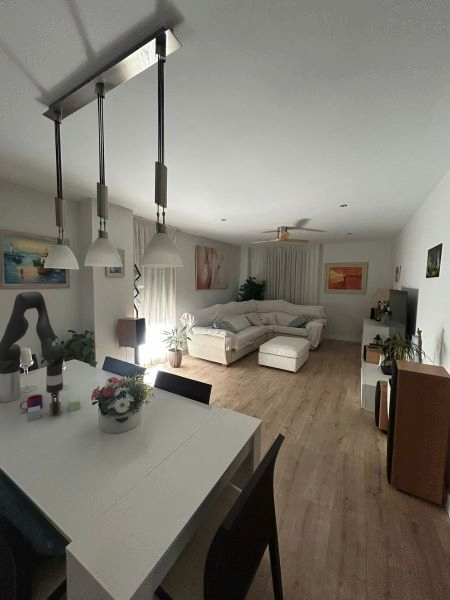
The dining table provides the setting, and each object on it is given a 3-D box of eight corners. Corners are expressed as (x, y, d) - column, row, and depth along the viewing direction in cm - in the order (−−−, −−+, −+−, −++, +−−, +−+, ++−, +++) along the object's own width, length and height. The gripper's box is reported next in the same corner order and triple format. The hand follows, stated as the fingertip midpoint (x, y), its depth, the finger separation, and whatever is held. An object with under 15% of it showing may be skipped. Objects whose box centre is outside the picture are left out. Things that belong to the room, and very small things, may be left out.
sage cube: (68, 407, 138) (68, 399, 137) (78, 405, 141) (78, 397, 140) (69, 411, 134) (69, 403, 133) (79, 409, 137) (79, 400, 136)
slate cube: (28, 417, 127) (28, 408, 127) (40, 414, 130) (40, 405, 130) (27, 421, 123) (27, 412, 123) (40, 418, 126) (40, 409, 126)
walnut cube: (49, 412, 132) (49, 403, 132) (60, 409, 135) (60, 401, 135) (49, 416, 128) (49, 407, 128) (60, 413, 131) (60, 404, 131)
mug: (43, 408, 136) (43, 397, 135) (21, 415, 128) (20, 403, 128) (40, 404, 140) (40, 393, 140) (18, 411, 133) (18, 399, 132)
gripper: (46, 379, 134) (46, 407, 135) (46, 388, 123) (46, 419, 124) (62, 376, 139) (62, 404, 140) (63, 385, 127) (64, 415, 128)
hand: (55, 411), depth 132 cm, fingers open, 6 cm apart
